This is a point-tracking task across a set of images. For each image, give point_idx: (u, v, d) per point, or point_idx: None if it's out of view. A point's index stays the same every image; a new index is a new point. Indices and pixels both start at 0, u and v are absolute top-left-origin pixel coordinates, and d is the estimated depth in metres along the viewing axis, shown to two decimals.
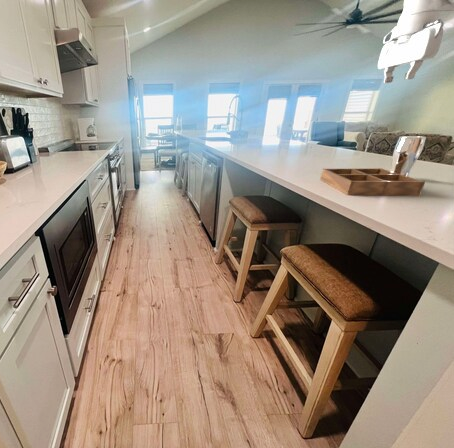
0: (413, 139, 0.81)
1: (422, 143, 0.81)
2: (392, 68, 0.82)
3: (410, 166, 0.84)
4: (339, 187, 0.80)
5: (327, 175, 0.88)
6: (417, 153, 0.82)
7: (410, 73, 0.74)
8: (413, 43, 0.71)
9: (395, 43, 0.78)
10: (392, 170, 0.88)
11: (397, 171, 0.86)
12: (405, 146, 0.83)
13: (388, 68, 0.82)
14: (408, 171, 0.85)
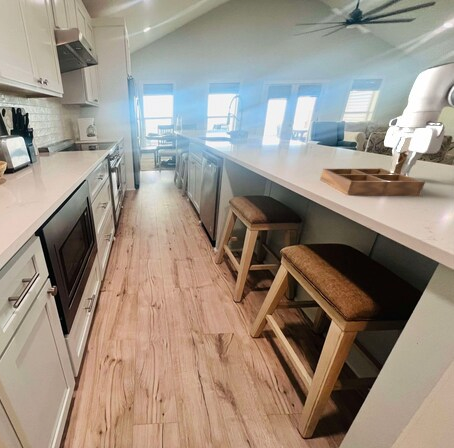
0: None
1: None
2: None
3: (410, 166, 0.84)
4: (339, 187, 0.80)
5: (327, 175, 0.88)
6: None
7: (412, 160, 0.82)
8: (417, 136, 0.79)
9: (400, 129, 0.85)
10: (392, 170, 0.88)
11: (397, 171, 0.86)
12: (405, 147, 0.83)
13: None
14: (408, 171, 0.85)
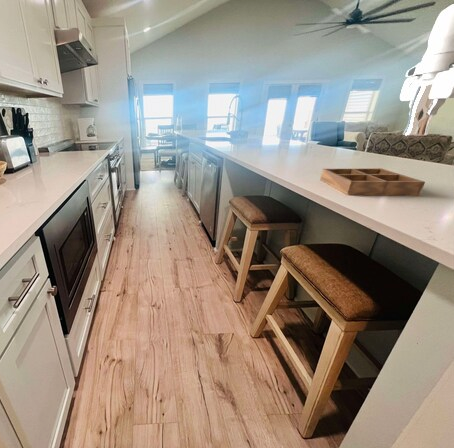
0: None
1: None
2: None
3: (430, 117, 0.78)
4: (339, 187, 0.80)
5: (327, 175, 0.88)
6: None
7: (433, 110, 0.75)
8: (439, 81, 0.72)
9: (419, 78, 0.79)
10: (410, 124, 0.81)
11: (416, 124, 0.80)
12: (424, 95, 0.76)
13: None
14: (428, 123, 0.79)
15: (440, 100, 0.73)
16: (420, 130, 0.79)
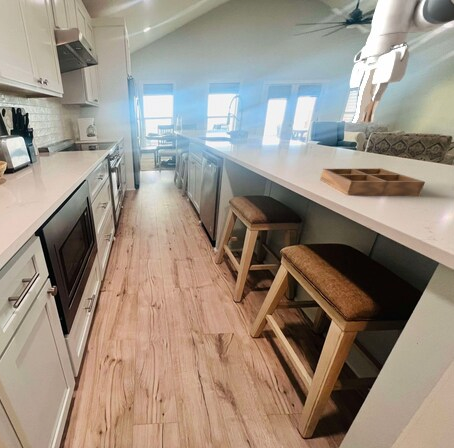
0: None
1: None
2: None
3: (375, 104, 0.75)
4: (339, 187, 0.80)
5: (327, 175, 0.88)
6: None
7: (376, 95, 0.72)
8: (381, 65, 0.69)
9: (365, 63, 0.76)
10: (356, 111, 0.78)
11: (361, 111, 0.77)
12: (368, 80, 0.73)
13: None
14: (373, 110, 0.76)
15: (382, 85, 0.70)
16: (366, 117, 0.76)
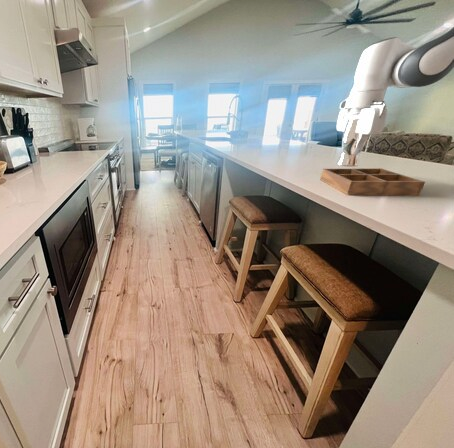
0: None
1: None
2: None
3: (358, 150, 0.80)
4: (339, 187, 0.80)
5: (327, 175, 0.88)
6: None
7: (359, 143, 0.78)
8: (362, 117, 0.75)
9: (349, 111, 0.81)
10: (342, 155, 0.84)
11: (346, 155, 0.82)
12: (352, 129, 0.79)
13: None
14: (357, 155, 0.81)
15: (364, 135, 0.76)
16: (350, 161, 0.82)
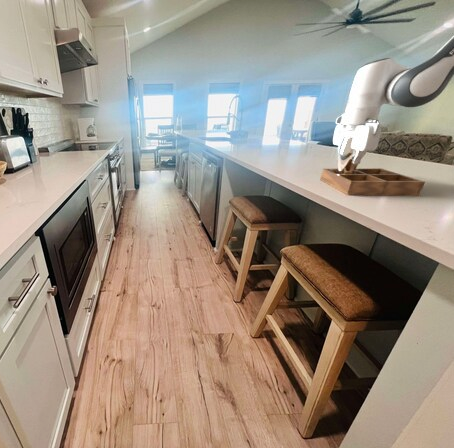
0: None
1: None
2: None
3: (354, 167, 0.83)
4: (339, 187, 0.80)
5: (327, 175, 0.88)
6: None
7: (356, 159, 0.79)
8: (358, 134, 0.77)
9: (345, 127, 0.83)
10: (338, 171, 0.86)
11: (342, 172, 0.85)
12: (347, 147, 0.81)
13: None
14: (352, 172, 0.84)
15: (361, 151, 0.77)
16: None
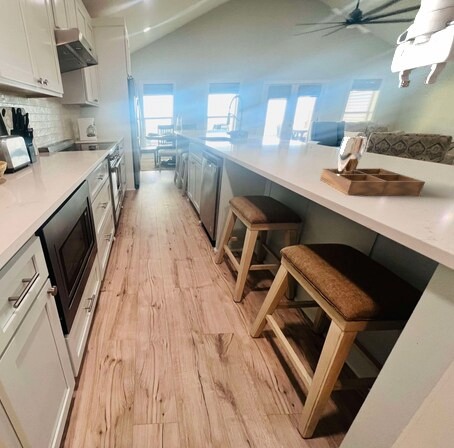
0: (354, 139, 0.79)
1: (363, 143, 0.79)
2: (408, 71, 0.73)
3: (354, 167, 0.83)
4: (339, 187, 0.80)
5: (327, 175, 0.88)
6: (359, 153, 0.80)
7: (431, 77, 0.65)
8: (434, 43, 0.63)
9: (412, 43, 0.69)
10: (337, 171, 0.86)
11: (342, 172, 0.85)
12: (347, 147, 0.81)
13: (404, 71, 0.73)
14: (352, 172, 0.84)
15: (439, 65, 0.63)
16: None
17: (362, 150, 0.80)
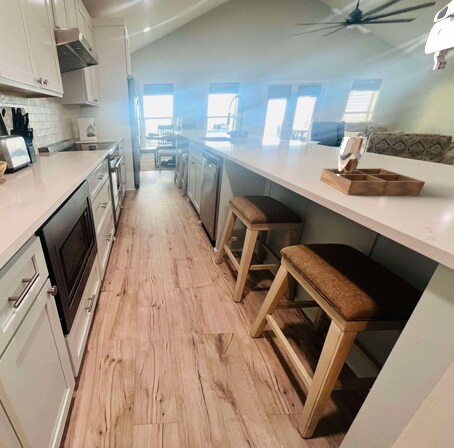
0: (354, 139, 0.79)
1: (363, 143, 0.79)
2: (445, 51, 0.68)
3: (354, 167, 0.83)
4: (339, 187, 0.80)
5: (327, 175, 0.88)
6: (359, 153, 0.80)
7: None
8: None
9: (452, 20, 0.64)
10: (338, 171, 0.86)
11: (342, 172, 0.85)
12: (347, 147, 0.81)
13: (440, 52, 0.68)
14: (352, 172, 0.84)
15: None
16: None
17: (362, 150, 0.80)
